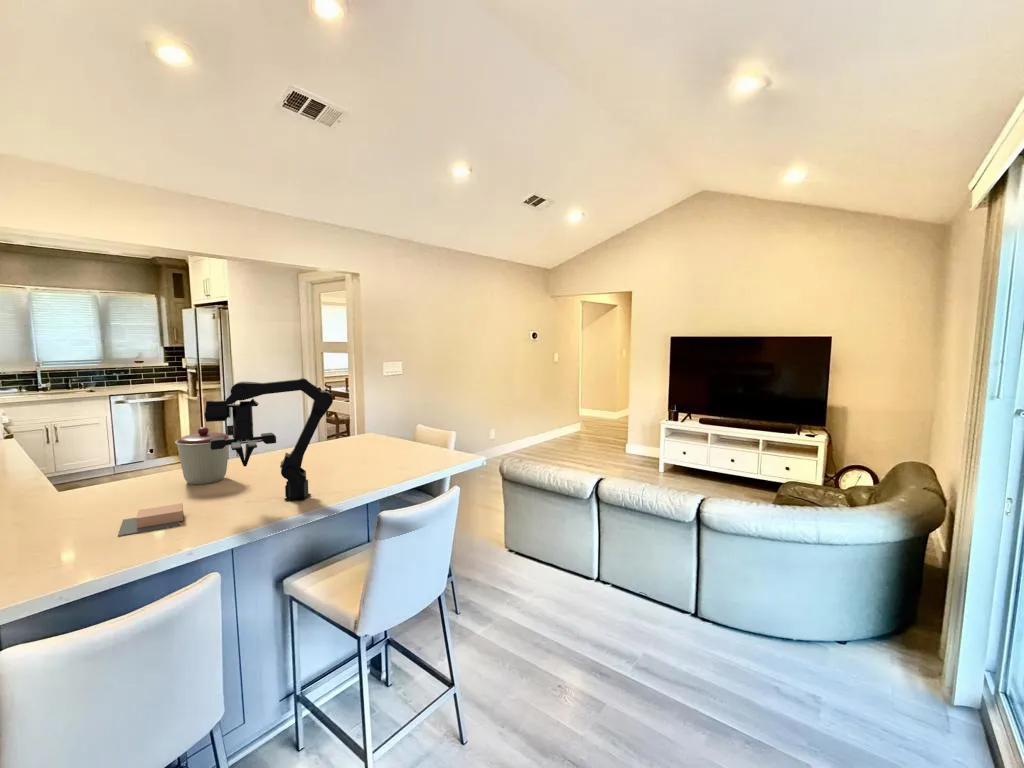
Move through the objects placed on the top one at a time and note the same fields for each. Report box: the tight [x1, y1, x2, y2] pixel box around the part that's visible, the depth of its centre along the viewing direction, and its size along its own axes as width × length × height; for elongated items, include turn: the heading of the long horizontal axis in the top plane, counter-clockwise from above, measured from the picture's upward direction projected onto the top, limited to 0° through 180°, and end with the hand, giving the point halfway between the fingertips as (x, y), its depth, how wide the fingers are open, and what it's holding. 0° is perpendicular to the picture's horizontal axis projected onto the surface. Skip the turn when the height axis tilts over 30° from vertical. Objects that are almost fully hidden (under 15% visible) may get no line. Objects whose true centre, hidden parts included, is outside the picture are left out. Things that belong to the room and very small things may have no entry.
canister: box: [174, 426, 232, 485], centre depth 182 cm, size 18×18×21 cm
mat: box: [117, 517, 180, 537], centre depth 141 cm, size 14×14×1 cm
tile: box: [135, 502, 184, 528], centre depth 143 cm, size 3×8×11 cm
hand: (244, 466), depth 157 cm, fingers closed
